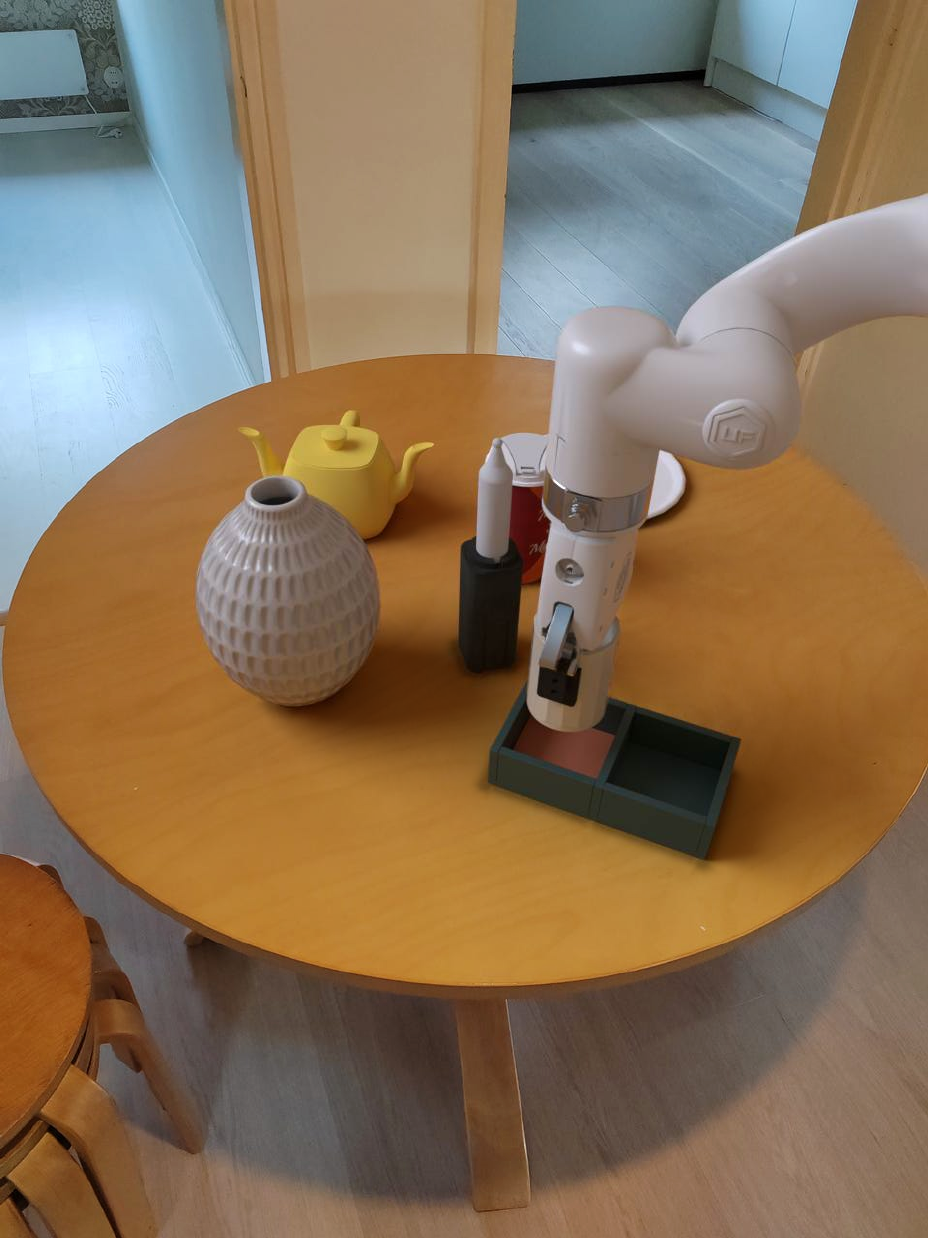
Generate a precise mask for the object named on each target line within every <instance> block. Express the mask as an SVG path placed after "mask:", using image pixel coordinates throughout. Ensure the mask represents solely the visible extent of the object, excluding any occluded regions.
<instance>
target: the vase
mask: <svg viewBox="0 0 928 1238" xmlns="http://www.w3.org/2000/svg"><path fill="white" fill-rule="evenodd" d="M364 540H365V539H362V537H361V536H360V534H359V533H358V531H357V530H356V528H355V527H354V526H353V525H352V524H351V522H350V521H349V520H348V519H347V518H346V517H345V516H344V515H343V514H341V513H340V512H339V511H338V510H336V509H335V508H334V507H332V506H331V505H329V504H328V503H326V502H324V501H322V500H321V499H319V498H317V497H315V496H313V495H311V494H309V493H307V491H306V488H305V486H304V485H303V484H302V483H301V482H300V481H299V480H297V479H294V478H291V477H288V476H269V477H265V478H264V477H262V478H259V479H258V480H255V481H254V482H253V483H251V484H250V485H249V486H248V487H247V488H246V490H245V492H244V499H242V501H240V502H239V503H238V504H237V505H236V506H235V507H233V509H232V510H230V511H229V512H228V513H227V514H226V515H225V516H224V517H223V518H222V519H221V521H220V522H219V523H218V524H217V526H216V527H215V528H213V531H212V533H211V534H210V536H209V538H208V539H207V542H206V544H205V546H204V548H203V551H202V553H201V557H200V561H199V562H198V563H199V564H198V566H197V572H196V580H195V590H194V591H195V594H194V595H195V606H196V607H195V609H196V612H197V618H198V623H199V626H200V631H201V634H202V636H203V638H204V641H205V643H206V646H207V647H208V649H209V652H210V654H211V656H212V657H213V659H214V660H215V661H216V663H217V664H218V666H219V667H220V668H221V670H223V672H224V673H225V675H227V677H228V678H229V679H231V680H232V681H233V682H234V683H235V684H236V685H238V686H239V687H240V688H242V689H244V690H245V691H246V692H248V693H249V694H251V695H253V696H255V697H256V698H258V699H261V700H263V701H266V702H268V703H271V704H275V705H278V706H284V707H302V706H308V705H313V704H316V703H318V702H322V701H324V700H327V699H328V698H331V697H332V696H333V695H334V694H336V693H338V692H339V691H340V690H341V689H342V688H343V687H344V686H346V685H347V684H348V683H349V682H350V681H351V680H352V679H353V677H354V676H355V675H356V674H358V671H359V670H360V669H361V668H362V666H363V665H364V664H365V662H366V661H367V659H368V657H369V655H370V653H371V650H372V648H373V645H374V643H375V640H376V637H377V634H378V630H379V625H380V618H381V608H382V605H381V588H380V582H379V576H378V571H377V567H376V565H375V562H374V559H373V557H372V554H371V552H370V550H369V547H368V545H367V543H366V541H364Z"/></svg>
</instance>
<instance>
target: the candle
mask: <svg viewBox="0 0 928 1238" xmlns="http://www.w3.org/2000/svg"><path fill="white" fill-rule="evenodd" d="M500 438H501V437H495V438H494V439H493V440H492V445H493V449H492V451H491V454H490V456H489V458H488V461H487V462H486V463H485V462H484V464H483V465H482V466H481V467H480V469H479V471H478V485H477V486H478V487H477V488H478V489H477V511H476V512H477V514H476V517H477V519H476V535H475V536H473V537H472V538H470V539H467V540H464V542H462V544H461V545H460V553H459V556H460V557H459V593H458V594H459V596H458V597H459V598H458V599H459V601H458V641H457V643H458V644H457V647H458V649H459V653H460V654H461V655H460V656H461V658H462V660H463V662H464V665H465V667H466V669H467V670H468V671H469V672H472V673H475V674H481V673H483V672H484V671H489V670H495V669H500V668H505V669H507V668H510V667H512V666H514V665H515V663H516V659H517V649H518V648H517V647H518V636H519V635H518V633H519V622H520V611H521V610H520V608H521V597H522V596H521V595H522V585H523V584H522V574H523V559H522V557H521V555H520V553H519V551H518V549H517V545H516V543H515V542H514V541H513V540H512V539H511V538H510V537H509V528H510V513H511V498H512V482H513V472H512V470H511V468H510V467H509V465H508V464H507V463H506V461H505V458H504V454H503V451H502V447H501V446H502V444H503V442H502V440H501V439H500Z"/></svg>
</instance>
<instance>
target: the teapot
mask: <svg viewBox="0 0 928 1238" xmlns="http://www.w3.org/2000/svg"><path fill="white" fill-rule="evenodd" d="M237 429H238V432H240V434H242V435H243V436H245V437H246V438H247V439H248V440H249V441H250V442H251V443H252V445H253V447H254V448H255V451H256V454H257V456H258V462H259V466H260V471H261V474H262V478H265V477H269V476H288V477H291V478H294V479H297V480H299V481H300V482H301V483H302V484H303V485H304V486H305V488H306V491H307V493H309V494H311V495H313V496H315V497H317V498H319V499H321V500H322V501H324V502H326V503H328V504H329V505H331V506H332V507H334V508H335V509H336V510H338V511H339V512H340V513H341V514H343V515H344V516H345V517H346V518H347V519H348V520H349V521H350V522H351V524H352V525H353V526H354V527H355V528H356V530H357V531H358V533H359V534H360V536H361V537H362V539H363V540H368V539H372V538H375V537H377V536H379V535H380V534H381V533H382V532H383V531H384V529H385V528H386V526H387V525H388V523H389V521H390V519H391V518H392V515H393V513H394V511H395V509H396V505H397V504H398V503H400V502H402V501H403V500H404V499H405V498H407V497H408V496H409V494H410V492H411V490H412V488H413V486H414V482H415V476H416V467H417V462H418V460H419V458H420V456H421V455H422V454H423V453H424V452H426V451H428V450H429V449H431V448H433V447H434V445H435V444H434V443H433V442H427V441H426V442H419V443H415V444H413V445H411V446H410V447H409V448H408V449H406V452H405V453H404V455H403V460H402V466H401V468H400V470H399V471H397V470H396V467H395V464H394V460H393V457H392V456H391V454H390V451H389V449H388V447H387V446H386V444H385V442H384V441H383V439H382V437H381V436H380V434H378V433H377V432H375V431H373V430H371V429H368V428H364V427H361V416H360V414H359V412H358V411H357V410H354V409H353V410H352V409H351V410H348V411H346V412H345V413H344V414H343V416H342V418H341V420H340V423H339V424H317V425H310V426H307V427H305V428H303V429H302V430H301V431H300V432H299V434H298V435H297V437H296V438H295V440H294V443H293V445H292V447H291V448H290V451H289V454H288V455H287V459H286V462H285V463H284V462H282V461H281V460H280V459H279V458H278V457H277V456H276V455H275V453H274V451H273V449H272V446H271V444H270V442H269V440H268V439H267V438H266V436H265V435H264V434H263V433H262V432H260V431H259V430H257V429H254V428H251V427H247V426H239V427H238V428H237Z"/></svg>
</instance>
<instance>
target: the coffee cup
mask: <svg viewBox="0 0 928 1238" xmlns="http://www.w3.org/2000/svg"><path fill="white" fill-rule="evenodd" d="M499 438H500V439H501V440H502V442H503V444H502V446H501V447H502V451H503V454H504V458H505V461H506V463H507V464H508V465H509V467H510V468H511V470H512V472H513V482H512V498H511V513H510V528H509V537H510V538H511V539H512V540H513V541H514V542H515V543H516V545H517V549H518V551H519V553H520V555H521V557H522V559H523V574H522V585H527V584H531V583H534V582H536V581H539V579H540V578H542V573H543V566H544V560H545V554H546V545H547V543H548V537H549V532H550V527H551V521H550V519H549V518H548V517H547V516H546V514H545V512H544V511H543V507H542V495H543V485H544V475H545V464H546V453H547V444H548V438H547V437H545V436H543V435H542V434H538V433H533V432H515V433H511V434H508V435H505V436H502V437H499ZM492 449H493V444H492V445H491V447H490V450H489V452H488V453H487V455H486V456H485V461H484V464H485V463H486V462H487V461H488V458H489V456H490V454H491V451H492Z"/></svg>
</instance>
